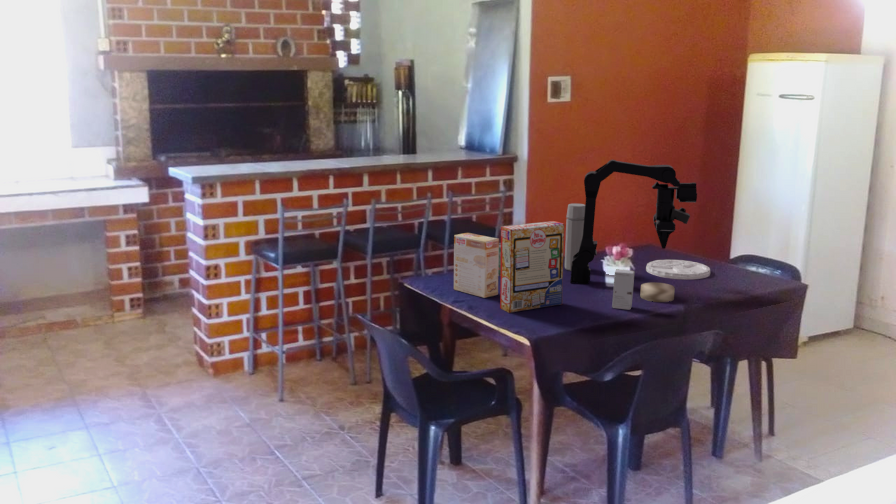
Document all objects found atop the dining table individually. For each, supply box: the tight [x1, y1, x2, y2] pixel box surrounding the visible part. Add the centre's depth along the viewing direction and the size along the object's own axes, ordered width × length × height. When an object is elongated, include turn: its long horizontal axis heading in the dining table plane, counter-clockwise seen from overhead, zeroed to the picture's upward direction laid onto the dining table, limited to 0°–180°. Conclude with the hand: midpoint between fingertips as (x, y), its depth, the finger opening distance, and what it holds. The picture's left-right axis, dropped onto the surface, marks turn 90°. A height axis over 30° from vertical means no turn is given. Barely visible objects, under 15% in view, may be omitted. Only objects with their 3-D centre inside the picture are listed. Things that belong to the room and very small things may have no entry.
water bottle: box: [564, 203, 585, 272], centre depth 307 cm, size 9×8×25 cm
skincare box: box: [611, 268, 636, 310], centre depth 259 cm, size 6×4×12 cm
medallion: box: [645, 259, 711, 280], centre depth 309 cm, size 24×27×2 cm
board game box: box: [499, 220, 565, 314], centre depth 257 cm, size 20×6×27 cm, turn 117°
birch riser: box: [639, 281, 675, 303], centre depth 272 cm, size 11×11×4 cm
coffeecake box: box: [453, 232, 500, 299], centre depth 275 cm, size 15×7×20 cm, turn 44°
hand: (662, 245), depth 283 cm, fingers open, 9 cm apart
